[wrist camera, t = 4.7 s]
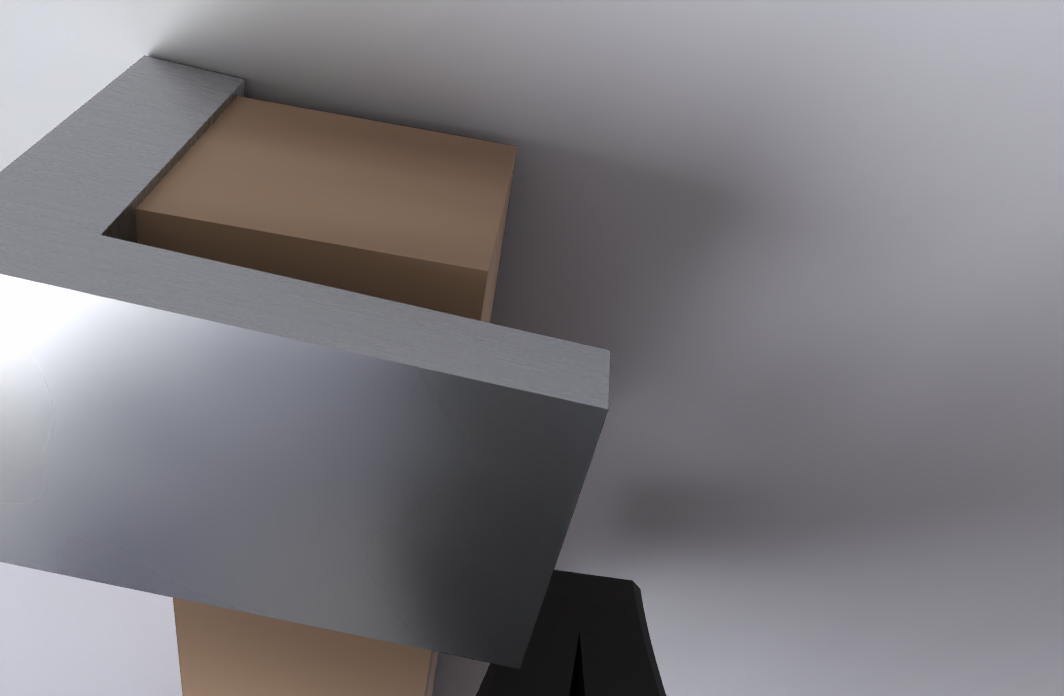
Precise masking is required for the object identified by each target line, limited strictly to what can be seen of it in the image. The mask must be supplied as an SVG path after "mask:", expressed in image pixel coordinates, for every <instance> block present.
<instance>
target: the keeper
mask: <svg viewBox="0 0 1064 696" xmlns="http://www.w3.org/2000/svg"><path fill="white" fill-rule="evenodd" d="M244 89H245V79H241V78H237V77H233V76H228V75H224V74H220V73H216V72H212V71H207V70H203V69H199V68H195V67H190V66H186V65H182V64H178V63H174V62H169V61H165V60H161V59H157V58H152V57H148V56H143V57H142V58H141V59H140V60H138V61H137V62H136V63H135V64H133V65H132V66H131V67H130V68H129V69H127V70H126V71H125V72H124V73H122V74H121V75H120V76H119V77H117V78H116V79H115V80H114V81H112V82H111V83H110V84H109V85H107V86H106V87H105V88H104V89H103V90H101V91H100V92H99V93H98V94H96V95H95V96H94V97H93V98H91V99H90V100H89V101H88V102H86V103H85V104H84V105H83V106H81V107H80V108H79V109H78V110H77V111H75V112H74V113H73V114H72V115H70V116H69V117H68V118H67V119H65V120H64V121H63V122H62V123H60V124H59V125H58V126H57V127H55V128H54V129H53V130H52V131H51V132H49V133H48V134H47V135H46V136H44V137H43V138H42V139H41V140H39V141H38V142H37V143H36V144H34V145H33V146H32V147H31V148H29V149H28V150H27V151H26V152H25V153H23V154H22V155H21V156H20V157H18V158H17V159H16V160H15V161H13V162H12V163H11V164H10V165H8V166H7V167H6V168H5V169H3V170H2V171H1V172H0V562H4V563H9V564H14V565H19V566H23V567H28V568H33V569H38V570H43V571H48V572H52V573H57V574H62V575H67V576H72V577H77V578H82V579H86V580H91V581H96V582H101V583H106V584H111V585H115V586H120V587H125V588H130V589H135V590H140V591H145V592H149V593H154V594H159V595H164V596H169V597H174V598H178V599H183V600H188V601H193V602H198V603H203V604H208V605H212V606H217V607H222V608H227V609H232V610H237V611H241V612H246V613H251V614H256V615H261V616H266V617H271V618H275V619H280V620H285V621H290V622H295V623H300V624H304V625H309V626H314V627H319V628H324V629H329V630H334V631H338V632H343V633H348V634H353V635H358V636H363V637H367V638H372V639H377V640H382V641H387V642H392V643H397V644H401V645H406V646H411V647H416V648H421V649H426V650H430V651H435V652H440V653H445V654H450V655H455V656H460V657H464V658H469V659H474V660H479V661H484V662H489V663H493V664H498V665H503V666H508V667H513V668H518V669H520V667H521V664H522V661H523V658H524V655H525V652H526V649H527V647H528V644H529V641H530V638H531V635H532V632H533V629H534V626H535V623H536V620H537V617H538V614H539V611H540V608H541V605H542V603H543V600H544V597H545V594H546V591H547V588H548V585H549V582H550V579H551V576H552V573H553V570H554V567H555V564H556V562H557V559H558V556H559V553H560V550H561V547H562V544H563V541H564V538H565V535H566V532H567V529H568V526H569V523H570V520H571V518H572V515H573V512H574V509H575V506H576V503H577V500H578V497H579V494H580V491H581V488H582V485H583V482H584V479H585V477H586V474H587V471H588V468H589V465H590V462H591V459H592V456H593V453H594V450H595V447H596V444H597V441H598V438H599V435H600V433H601V430H602V427H603V424H604V421H605V418H606V415H607V412H608V406H609V375H610V350H607V349H603V348H598V347H594V346H589V345H585V344H581V343H576V342H572V341H567V340H563V339H558V338H554V337H550V336H545V335H541V334H536V333H532V332H527V331H523V330H519V329H514V328H510V327H505V326H501V325H497V324H492V323H488V322H483V321H479V320H474V319H470V318H466V317H461V316H457V315H452V314H448V313H443V312H439V311H435V310H430V309H426V308H421V307H417V306H412V305H408V304H404V303H399V302H395V301H390V300H386V299H382V298H377V297H373V296H368V295H364V294H359V293H355V292H351V291H346V290H342V289H337V288H333V287H328V286H324V285H320V284H315V283H311V282H306V281H302V280H297V279H293V278H289V277H284V276H280V275H275V274H271V273H267V272H262V271H258V270H253V269H249V268H244V267H240V266H236V265H231V264H227V263H222V262H218V261H213V260H209V259H205V258H200V257H196V256H191V255H187V254H182V253H178V252H174V251H169V250H165V249H160V248H156V247H151V246H147V245H143V244H138V243H137V234H136V208H137V207H138V206H139V205H140V203H141V202H142V201H143V200H144V199H145V198H146V197H147V196H148V195H149V194H150V192H151V191H152V190H153V189H154V188H155V187H156V186H157V185H158V184H159V182H160V181H161V180H162V179H163V178H164V177H165V176H166V175H167V174H168V173H169V171H170V170H171V169H172V168H173V167H174V166H175V165H176V164H177V163H178V162H179V160H180V159H181V158H182V157H183V156H184V155H185V154H186V153H187V152H188V151H189V149H190V148H191V147H192V146H193V145H194V144H195V143H196V142H197V141H198V140H199V138H200V137H201V136H202V135H203V134H204V133H205V132H206V131H207V130H208V128H209V127H210V126H211V125H212V124H213V123H214V122H215V121H216V120H217V119H218V117H219V116H220V115H221V114H222V113H223V112H224V111H225V110H226V109H227V108H228V106H229V105H230V104H231V103H232V102H233V101H234V100H235V99H236V98H237V97H238V96H240V97H244Z"/></svg>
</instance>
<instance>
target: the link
mask: <svg viewBox="0 0 1064 696" xmlns="http://www.w3.org/2000/svg"><path fill="white" fill-rule="evenodd" d="M517 147H518V146H512V145H507V144H501V143H496V142H490V141H484V140H479V139H473V138H468V137H462V136H457V135H451V134H446V133H440V132H434V131H429V130H423V129H418V128H412V127H407V126H401V125H395V124H390V123H384V122H379V121H373V120H368V119H362V118H357V117H351V116H345V115H340V114H334V113H329V112H323V111H318V110H312V109H307V108H301V107H295V106H290V105H284V104H279V103H273V102H268V101H262V100H256V99H251V98H245V97H240V96H238V97H237V98H236V99H235V100H234V101H233V102H232V103H231V104H230V105H229V106H228V108H227V109H226V110H225V111H224V112H223V113H222V114H221V115H220V116H219V117H218V119H217V120H216V121H215V122H214V123H213V124H212V125H211V126H210V127H209V128H208V130H207V131H206V132H205V133H204V134H203V135H202V136H201V137H200V138H199V140H198V141H197V142H196V143H195V144H194V145H193V146H192V147H191V148H190V149H189V151H188V152H187V153H186V154H185V155H184V156H183V157H182V158H181V159H180V160H179V162H178V163H177V164H176V165H175V166H174V167H173V168H172V169H171V170H170V171H169V173H168V174H167V175H166V176H165V177H164V178H163V179H162V180H161V181H160V182H159V184H158V185H157V186H156V187H155V188H154V189H153V190H152V191H151V192H150V194H149V195H148V196H147V197H146V198H145V199H144V200H143V201H142V202H141V203H140V205H139V206H138V207H137V208H136V234H137V243H138V244H143V245H147V246H151V247H156V248H160V249H165V250H169V251H174V252H178V253H182V254H187V255H191V256H196V257H200V258H205V259H209V260H213V261H218V262H222V263H227V264H231V265H236V266H240V267H244V268H249V269H253V270H258V271H262V272H267V273H271V274H275V275H280V276H284V277H289V278H293V279H297V280H302V281H306V282H311V283H315V284H320V285H324V286H328V287H333V288H337V289H342V290H346V291H351V292H355V293H359V294H364V295H368V296H373V297H377V298H382V299H386V300H390V301H395V302H399V303H404V304H408V305H412V306H417V307H421V308H426V309H430V310H435V311H439V312H443V313H448V314H452V315H457V316H461V317H466V318H470V319H474V320H479V321H483V322H488V323H490V320H491V314H492V307H493V301H494V294H495V288H496V282H497V275H498V269H499V262H500V256H501V250H502V243H503V237H504V230H505V224H506V218H507V211H508V205H509V198H510V192H511V186H512V179H513V173H514V166H515V160H516V153H517ZM173 603H174V613H175V623H176V633H177V643H178V653H179V663H180V673H181V683H182V693H183V696H432V692H433V685H434V679H435V673H436V666H437V660H438V653H439V652H435V651H430V650H426V649H421V648H416V647H411V646H406V645H401V644H397V643H392V642H387V641H382V640H377V639H372V638H367V637H363V636H358V635H353V634H348V633H343V632H338V631H334V630H329V629H324V628H319V627H314V626H309V625H304V624H300V623H295V622H290V621H285V620H280V619H275V618H271V617H266V616H261V615H256V614H251V613H246V612H241V611H237V610H232V609H227V608H222V607H217V606H212V605H208V604H203V603H198V602H193V601H188V600H183V599H178V598H174V597H173Z"/></svg>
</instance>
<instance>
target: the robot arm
mask: <svg viewBox="0 0 1064 696" xmlns="http://www.w3.org/2000/svg"><path fill="white" fill-rule="evenodd" d="M476 696H666V694H665V690H664V687H663V684H662V680H661V677H660V673H659V670H658V666H657V663H656V659H655V656H654V652H653V648H652V644H651V640H650V636H649V632H648V627H647V623H646V618H645V613H644V608H643V603H642V597H641V590H640V588H639V587H638V586H637V585H636V584H635V583H634V581H632V580H624V579H617V578H610V577H602V576H595V575H588V574H580V573H573V572H566V571H558V570H553V573H552V576H551V579H550V582H549V585H548V588H547V591H546V594H545V597H544V600H543V603H542V605H541V608H540V611H539V614H538V617H537V620H536V623H535V626H534V629H533V632H532V635H531V638H530V641H529V644H528V647H527V649H526V652H525V655H524V658H523V661H522V664H521V667H520V669H518V668H513V667H508V666H503V665H498V664H493V663H490V665H489V668H488V670H487V673H486V675H485V677H484V679H483V681H482V684H481V686H480V688H479V690H478V692H477V695H476Z"/></svg>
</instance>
